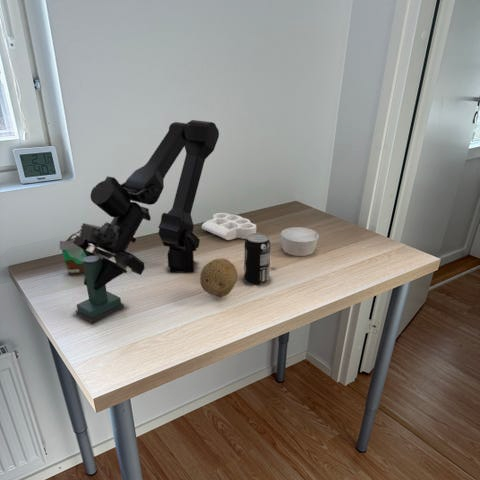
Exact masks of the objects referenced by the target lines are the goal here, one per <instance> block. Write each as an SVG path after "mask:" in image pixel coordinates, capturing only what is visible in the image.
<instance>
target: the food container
mask: <svg viewBox="0 0 480 480" xmlns="http://www.w3.org/2000/svg"><path fill="white" fill-rule="evenodd" d="M81 230H82V225H80V229H79V230H78V231H77V232H75V233H73V234H71V235H70V236H69V237H68V238H67V239H66V240H60V241H59V250H61V253H62V255H63V259H64V260H63V261H64V263H65V267H66V270H67V274H68V275H69V276H79V275H84V269H83V264H82V262H83V259H84V258H85V257H86V254H85V253H84V252H83V249H81V248H80V247H78V246H77V245H75V244H74V243H73V241H74V240H75V238H76V236H78V235H80V234H81Z"/></svg>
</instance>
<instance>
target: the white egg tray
mask: <svg viewBox="0 0 480 480" xmlns="http://www.w3.org/2000/svg"><path fill="white" fill-rule="evenodd" d="M201 229H202V230H204V231H207V232H209V233H210V234H213V235H215V236H218V237H220V238H222V239H224V240H226V241H231V240H235V239H243V240H246V239H247V238H246V237H247V235H249V234H252V233H257V224H256V223H252V222H251V220H250V219H248V218H246V217H242V216H241V215H237V214H230V213H227V212H217V213H214V214H213V215H212V219H209V220H206V221H205V222H204V223H202V224H201Z"/></svg>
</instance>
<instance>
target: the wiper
mask: <svg viewBox="0 0 480 480" xmlns="http://www.w3.org/2000/svg"><path fill="white" fill-rule="evenodd" d="M82 264H83V269H84V274H83V275H84V279H85V280H86V285H87V286H86V285H85V286H86V291H87V296H88V299H86V300H84V301H81V302H79V303H77V304H76V309H77V310H76V311H75V314H76V316H78V317H79V318H81V319H83V320H85V321H87V322H88V323H91V324H92V325H93V324H95V323H97V322H99V321H101V320H103V319H105V318H107V317H109V316H111V315H113V314H115V313H117V312H118V311H121V310H123V309H124V308H125V305H124V303H122V300H121V297H120V296H118V295H116V294H115V293H112V292H109V291H108V290H107V284H106V285H104V286H103V287H101V288H100V289H98V290H95V289H93V287H94V284H95V281H96V279H97V277H98V275H99V273H100V271H101V269H102V267H103V266H102V261H100V258H99V257H98V256H88V257H85V258H84V259H83V262H82Z"/></svg>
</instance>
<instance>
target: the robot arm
mask: <svg viewBox="0 0 480 480" xmlns="http://www.w3.org/2000/svg"><path fill="white" fill-rule="evenodd" d="M219 131H220V130H219V128H218V127H217V124H216V123H214V122H213V121H207V120H206V121H205V120H197V119H192V120H189V121H187V122H186V123H185V122H179V121H174V122H172V123H170V124H169V127H168V131H167V133H166V134H165V135H164V137H163V138H162V140H161V142H160V143H159V145H158V146H157V147H156V149H155V151H154V152H153V153H152V155H150V158H149V159H148V161H147V162H146V163H145V164H144V165H143V166H141V167H139V168H137V169H136V170H134V171H133V172H132V173H131V174H130V176H129V177H127V179H126V181H124V182H123V183H120V182H119V181H118V180H117V179H116V178H115V177H113V176H109V175H107V176H106V177H105V180H102V181H100V182H98V183H96V185H95V186H94V187H92V190H91V191H90V200H91V202H92V203H93V204H94V205H95V206H97V207H98V208H99V209H100V210H101V211H103V212H104V213H105V214H106V215H108V216H109V217H111V218H112V220H111V222H105V223H104V224H102V225H101V226H99V225H98V226H97V225H94V224H90V223H84V222H83V223H82V225H81V226H82V230H81V229H80V230H81V234H80V235H78V236H76V238H75V240H74V241H73V243H74V244H75V245H77V246H78V247H80V248H81V249H83V252H84V253H85V254H86V257H88V256H98V257H99V258H100V261H102V266H103V267H102V269H101V271H100V273H99V275H98V277H97V279H96V281H95V284H94V287H93V289H95V290H98V289H100V288H101V287H103V286H104V285H106V286H107V284H109V283H111V281H113V280H114V279H116V278H117V277H119V276H121V275H123V274H127V273H128V270H127V268H129V269H130V271H131V272H132V273H134V274H136V275H139V276H142V274H143V273H144V270H145V269H146V268H145V262H144V261H143V260H141V259H140V258H139V257H137V256H135V255H134V254H132V253H130V252H128V251H127V250H128V247H129V245H130V244H131V243H132V244H135V243H136V241H137V239H136V238H135V237H134V236H135V235H136V233H137V231H138V229H139V227H140V225H141V224H142V222H143V220H146V221H149V222H150V221H151V214H150V212H149V211H150V209H149V208H148V207H145V206H142V205H140V204H143V205H147V206H152V205H155V204H156V203H157V202H158V201H159V199H160V197H161V194H162V192H163V191H164V188H165V184H164V180H165V177H166V176H167V174H168V172H170V171H169V170H170V169H171V167H172V166H173V165H174V163H175V162H176V159H178V157H179V156H180V154H181V152H182V151H183V149H184V150H185V158H184V160H183V164H182V169H181V173H180V177H179V180H178V184H177V187H176V192H175V197H174V200H173V204H172V207H171V209H170V210H169V211H168V212H163V213H162V214H161V217H160V222H159V225H158V227H157V228H158V235H159V236H158V237H160V240H161V242H162V244H163V247H168V250H167V266H168V268H169V272H170V273H194V271H195V259H194V257H195V256H194V252H196V251H197V249H198V248H199V246H200V242H201V241H200V238H199V237H198V236H196V234H194V233H193V232H194V222H193V221H194V220H193V218H192V211H193V207H194V202H195V199H196V195H197V191H198V188H199V184H200V181H201V176H202V173H203V167H204V166H205V165H204V164H205V161H206V160H207V158H209V156H210V155H211V154H212V153H213V152H214V151H215V148H216V146H217V143H218V140H219V137H220V136H219V135H220V132H219ZM83 285H84V286H86V287H87V285H86V280H85V278H84V280H83Z"/></svg>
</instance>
